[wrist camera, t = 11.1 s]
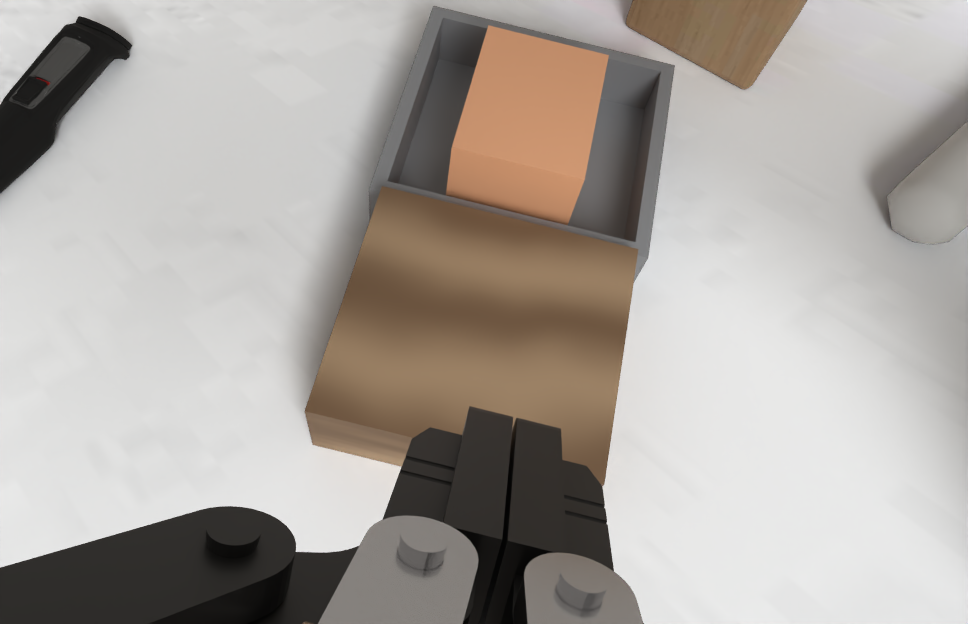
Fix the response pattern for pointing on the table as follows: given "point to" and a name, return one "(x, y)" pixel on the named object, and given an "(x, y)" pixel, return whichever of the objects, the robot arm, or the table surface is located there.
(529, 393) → the square wooden plinth
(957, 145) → the tube
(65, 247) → the table surface
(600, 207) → the box
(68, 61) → the electric trimmer
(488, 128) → the terracotta block
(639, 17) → the wooden block
